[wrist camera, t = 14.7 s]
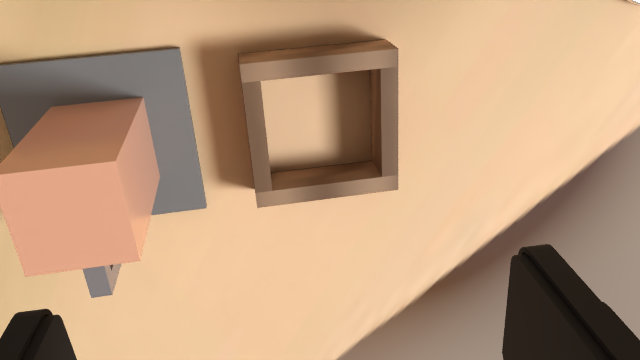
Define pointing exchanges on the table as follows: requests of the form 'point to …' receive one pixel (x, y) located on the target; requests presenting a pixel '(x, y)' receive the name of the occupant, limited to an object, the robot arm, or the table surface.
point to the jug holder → (337, 177)
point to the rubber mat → (115, 84)
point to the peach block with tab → (82, 190)
